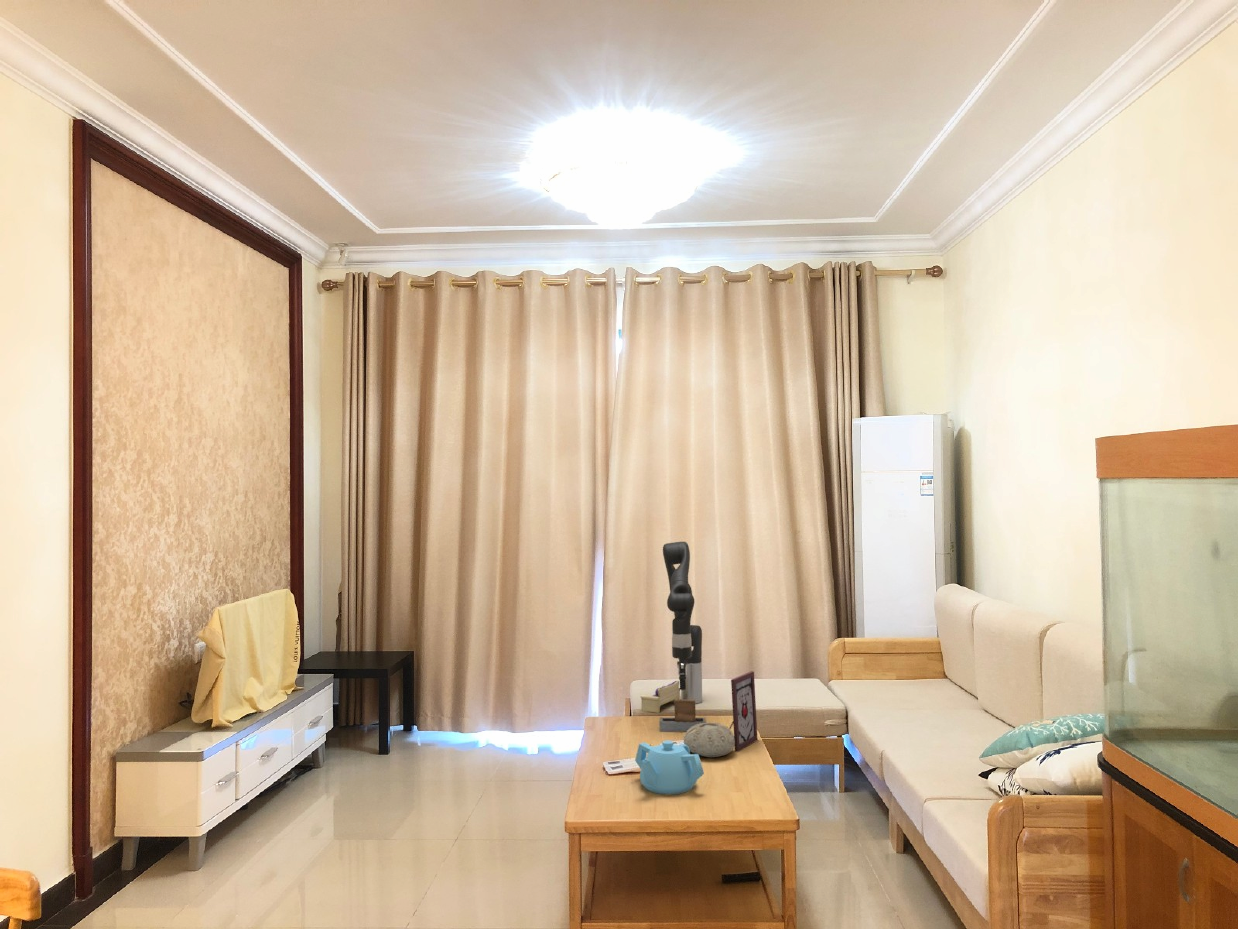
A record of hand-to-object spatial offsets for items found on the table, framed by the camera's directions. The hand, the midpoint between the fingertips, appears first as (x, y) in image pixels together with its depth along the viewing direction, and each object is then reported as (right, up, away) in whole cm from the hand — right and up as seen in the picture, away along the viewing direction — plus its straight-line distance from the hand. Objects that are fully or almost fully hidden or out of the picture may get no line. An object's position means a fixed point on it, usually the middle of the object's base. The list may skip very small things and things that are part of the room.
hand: (682, 687), depth 327 cm
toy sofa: (-7, -18, +35) cm, 40 cm away
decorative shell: (+7, -15, -32) cm, 36 cm away
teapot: (-10, -14, -65) cm, 67 cm away
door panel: (+1, -15, -1) cm, 15 cm away
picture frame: (+18, -15, -21) cm, 31 cm away
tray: (0, -16, -1) cm, 16 cm away
